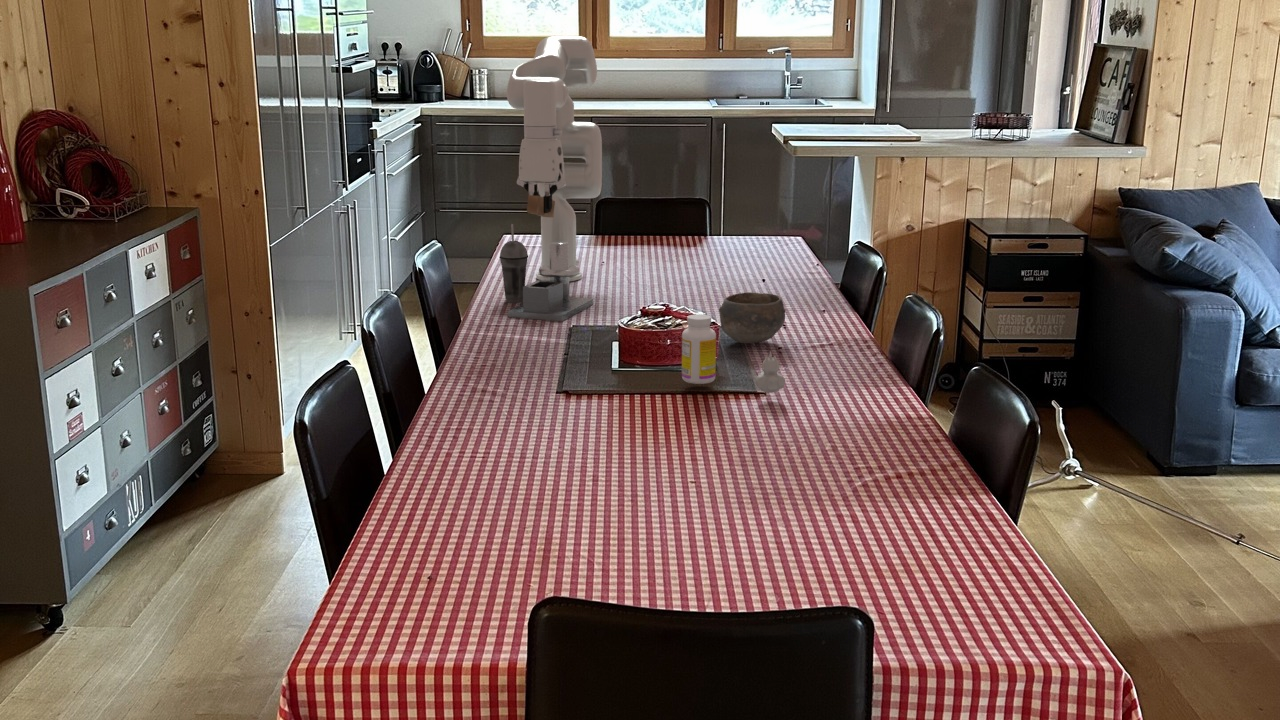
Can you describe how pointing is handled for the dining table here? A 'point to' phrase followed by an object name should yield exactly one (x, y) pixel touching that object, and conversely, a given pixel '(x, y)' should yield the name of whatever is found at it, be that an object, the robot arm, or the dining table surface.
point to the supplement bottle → (698, 350)
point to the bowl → (752, 316)
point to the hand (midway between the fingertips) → (541, 211)
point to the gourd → (770, 376)
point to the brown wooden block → (538, 206)
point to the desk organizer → (552, 290)
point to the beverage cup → (513, 269)
